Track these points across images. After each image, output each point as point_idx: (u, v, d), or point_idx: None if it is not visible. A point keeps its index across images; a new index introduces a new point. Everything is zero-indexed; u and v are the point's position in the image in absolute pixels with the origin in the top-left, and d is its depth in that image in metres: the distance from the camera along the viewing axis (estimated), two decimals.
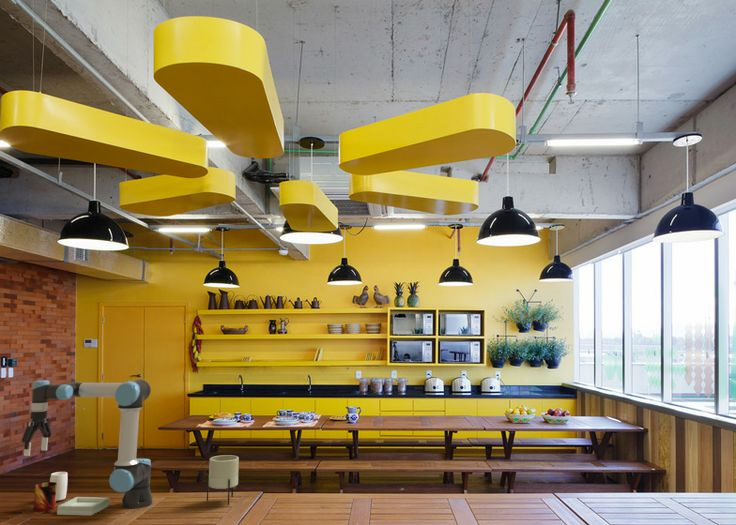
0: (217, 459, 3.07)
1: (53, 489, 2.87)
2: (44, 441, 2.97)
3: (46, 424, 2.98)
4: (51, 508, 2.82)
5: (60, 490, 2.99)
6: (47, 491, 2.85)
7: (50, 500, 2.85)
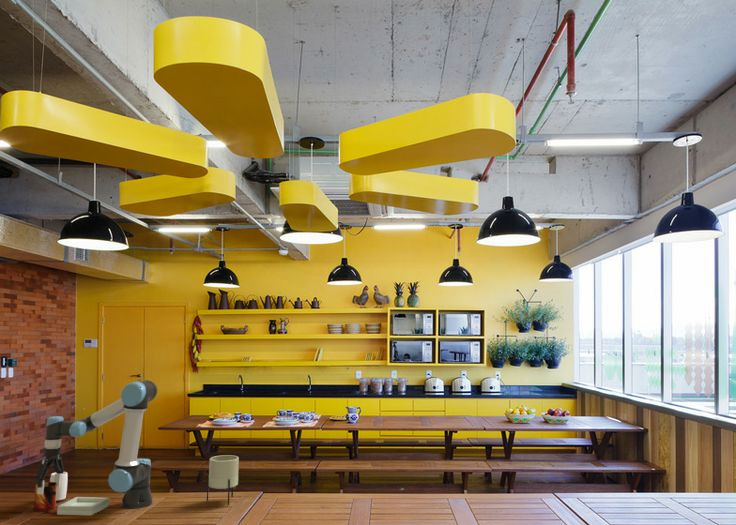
0: (217, 459, 3.07)
1: (53, 489, 2.87)
2: (57, 477, 2.95)
3: (59, 460, 2.96)
4: (51, 508, 2.82)
5: (60, 490, 2.99)
6: (47, 491, 2.85)
7: (50, 500, 2.85)
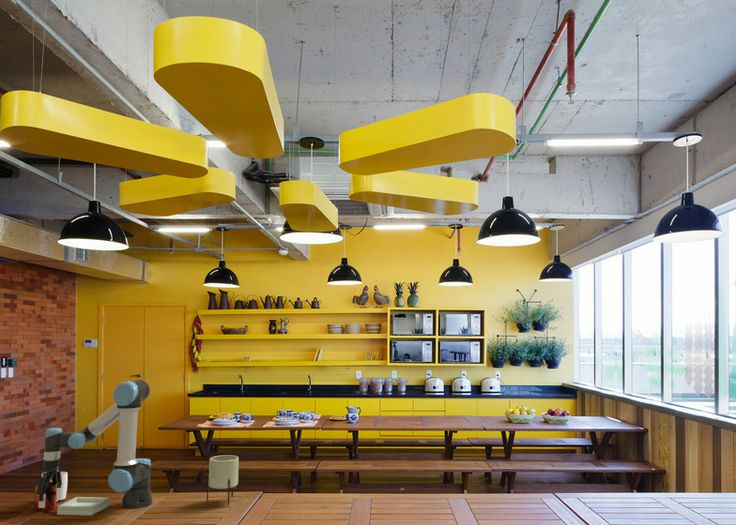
0: (217, 459, 3.07)
1: (53, 489, 2.87)
2: None
3: (58, 473, 2.95)
4: (51, 508, 2.82)
5: (60, 490, 2.99)
6: (47, 491, 2.85)
7: (50, 500, 2.85)
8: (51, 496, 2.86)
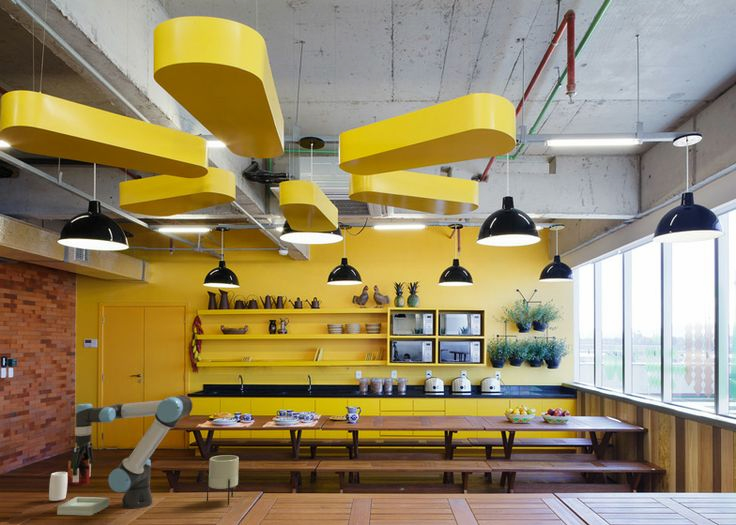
0: (217, 459, 3.07)
1: (86, 464, 2.88)
2: None
3: (89, 449, 2.95)
4: (85, 482, 2.83)
5: (60, 490, 2.99)
6: (80, 465, 2.85)
7: (84, 474, 2.86)
8: (84, 471, 2.86)
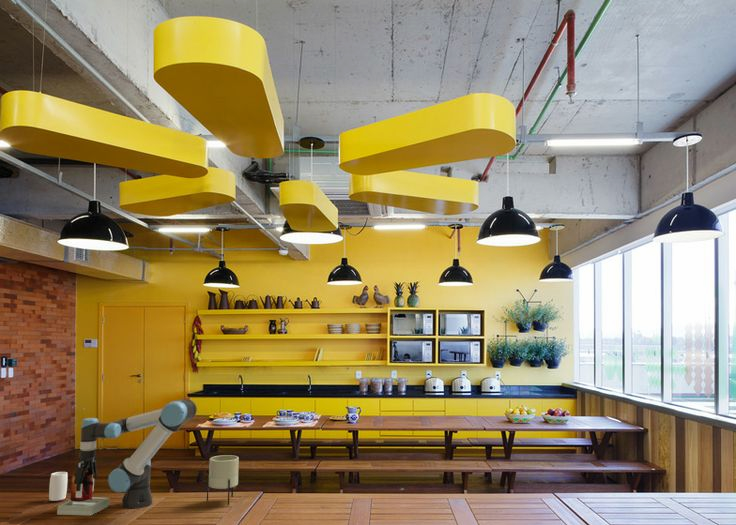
0: (217, 459, 3.07)
1: (90, 479, 2.87)
2: None
3: (94, 463, 2.94)
4: (88, 498, 2.82)
5: (60, 490, 2.99)
6: (84, 481, 2.84)
7: (87, 490, 2.85)
8: (88, 486, 2.85)
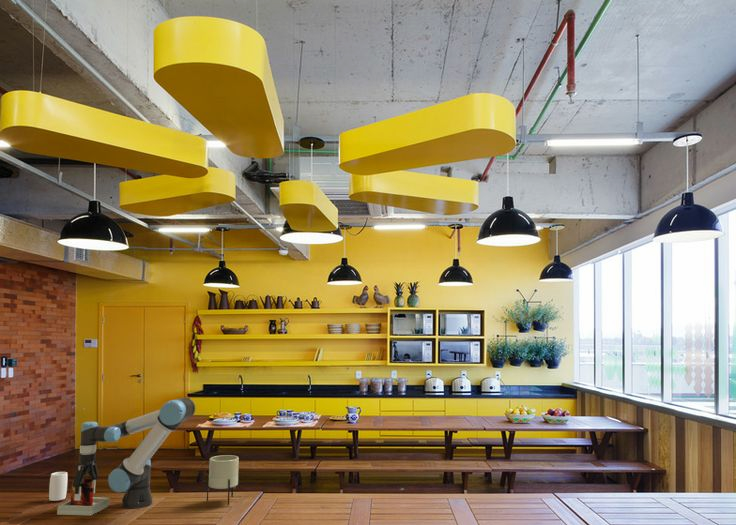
0: (217, 459, 3.07)
1: (90, 486, 2.86)
2: None
3: (94, 466, 2.94)
4: (89, 505, 2.81)
5: (60, 490, 2.99)
6: (84, 488, 2.84)
7: (87, 497, 2.84)
8: (88, 493, 2.85)
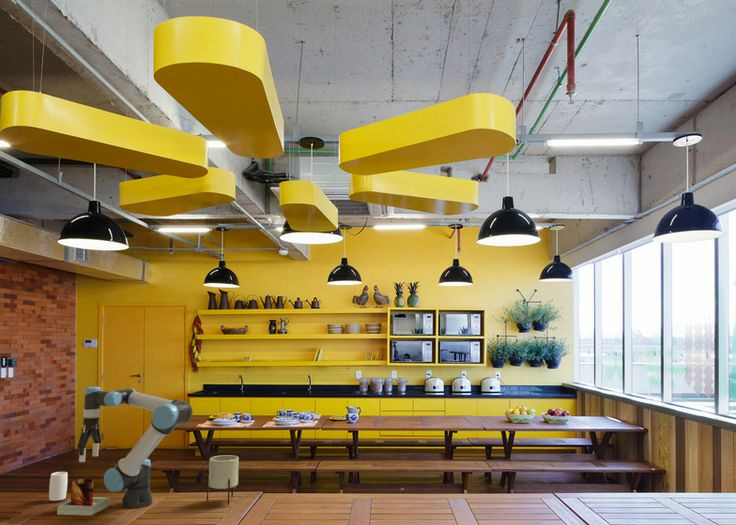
0: (217, 459, 3.07)
1: (90, 486, 2.86)
2: (95, 447, 3.00)
3: (97, 430, 3.00)
4: (89, 505, 2.81)
5: (60, 490, 2.99)
6: (84, 488, 2.84)
7: (87, 497, 2.84)
8: (88, 493, 2.85)
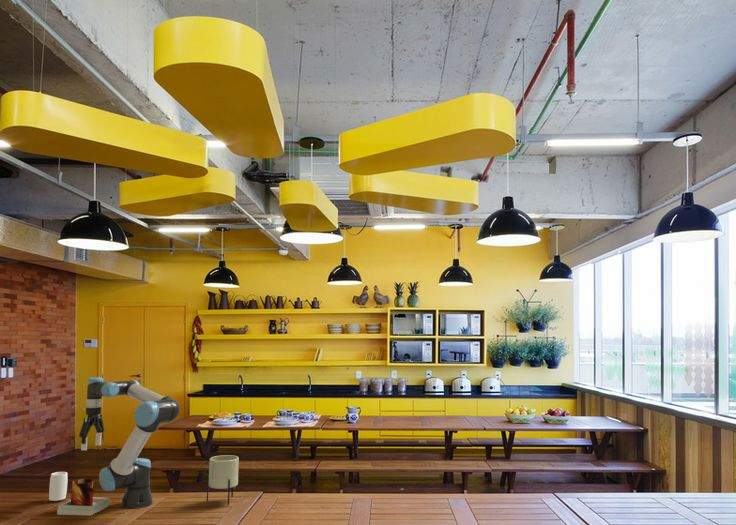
0: (217, 459, 3.07)
1: (90, 486, 2.86)
2: (98, 436, 3.06)
3: (100, 420, 3.07)
4: (89, 505, 2.81)
5: (60, 490, 2.99)
6: (84, 488, 2.84)
7: (87, 497, 2.84)
8: (88, 493, 2.85)
